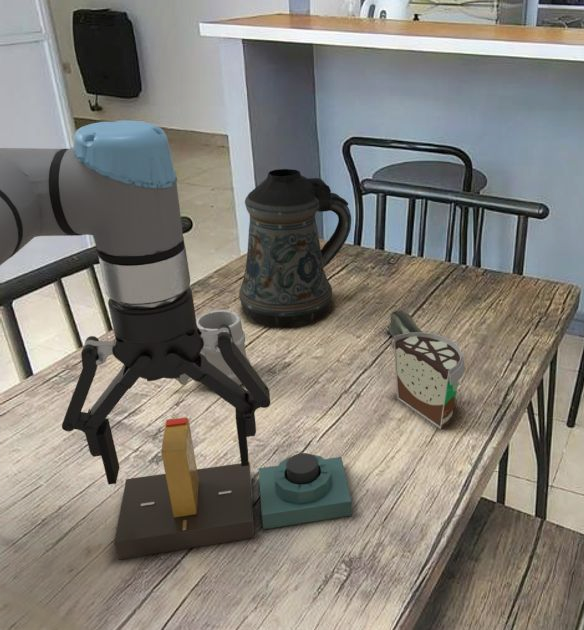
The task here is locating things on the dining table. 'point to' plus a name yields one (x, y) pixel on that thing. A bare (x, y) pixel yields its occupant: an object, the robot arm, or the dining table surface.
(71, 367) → the dining table surface
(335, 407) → the dining table surface
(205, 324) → the mug
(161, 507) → the lock plate
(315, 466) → the bell button
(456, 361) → the food container
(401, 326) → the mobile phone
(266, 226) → the beer stein
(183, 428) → the lock knob
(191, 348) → the robot arm
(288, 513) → the push button box
